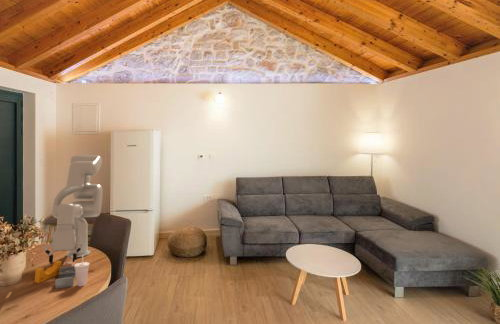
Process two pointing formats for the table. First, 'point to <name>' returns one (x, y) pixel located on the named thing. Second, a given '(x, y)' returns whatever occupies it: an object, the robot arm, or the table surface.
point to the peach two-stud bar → (69, 262)
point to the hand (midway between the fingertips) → (62, 262)
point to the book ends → (65, 277)
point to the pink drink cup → (81, 272)
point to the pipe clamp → (47, 272)
